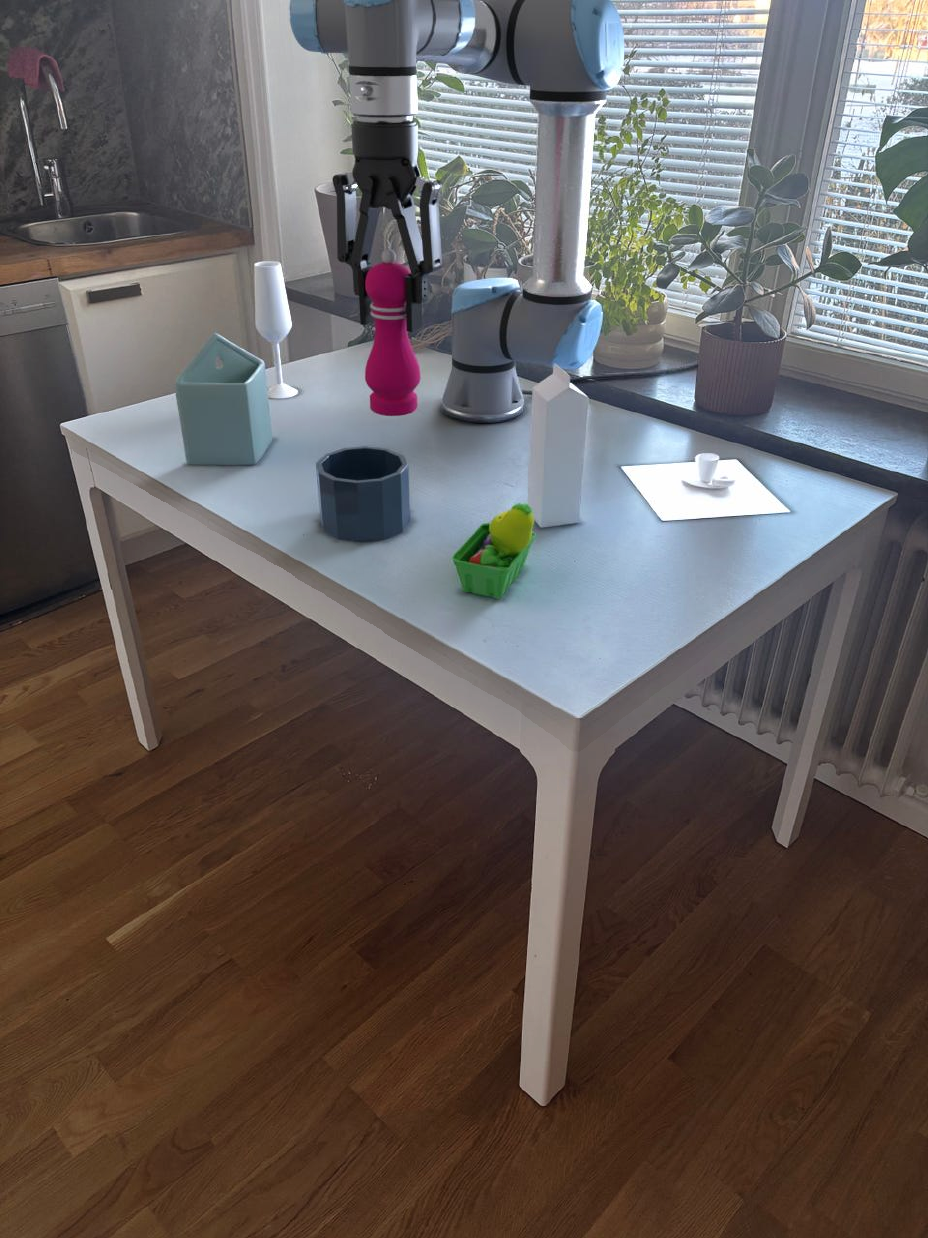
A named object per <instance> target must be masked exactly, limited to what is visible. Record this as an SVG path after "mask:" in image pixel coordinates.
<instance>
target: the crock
mask: <svg viewBox="0 0 928 1238" xmlns="http://www.w3.org/2000/svg"><path fill="white" fill-rule="evenodd" d="M409 471H410V470H409V462H408V460H407V459H406V457H405V455H404V454H402V453H399V452H397V451H396V450H393V449H391V448H387V447H378V446H369V445H365V446H364V445H363V446H351V447H343V448H339V449H336V450H334V451H331V452H328V453H325V454H323V455H322V456H321V458H319V459H318V460H317V461H316V462H315V473H316V483H317V484H316V485H317V497H318V509H319V520H320V524H321V527H322V531H323V532H324V533H326V534H327V535H329V536H332V537H333V538H335V539H337V540H341V541H350V542H355V543H367V542H374V541H383V540H387V539H390V538H392V537H394V536H397V535H399V534H401V533H403V532H404V531H405V529H406V528H407V527H408V525H409V524H410V522H411V510H410V509H411V508H410V507H411V505H410V473H409Z"/></svg>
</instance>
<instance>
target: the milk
mask: <svg viewBox="0 0 928 1238" xmlns="http://www.w3.org/2000/svg"><path fill="white" fill-rule="evenodd" d="M570 377H571V375H570V374H568V373H567V372H566V371H565V369H562V368H560V367H559V366H558V365H556V364H554V365H553V368H552V373H551V374H550V375H549V376H547V377H546V378H544V379H543V380H541V381H540V382H539V383H537V384H536V385H534V386H533V387H532V390H531V391H532V395H531V411H530V412H531V415H530V434H529V435H530V438H529V456H528V457H529V458H528V477H527V501H526V504H527V505H528V506H529V507H530V508H531V509H532V514H533V517H534V522H535V523H536V524H537V525H538V526H539V527H540V528H549V527H556V526H565V525H572V524H578V523H580V514H581V513H580V511H581V500H582V488H583V477H584V476H583V475H584V474H583V473H584V463H585V462H584V461H585V451H586V438H587V437H586V436H587V424H588V414H589V413H588V412H589V401H590V400H589V399H590V398H589V396H587V395H586V394H585V393H584V392H583V391H582V390H580V389H579V388H578V387H577V386H576V385H575V384H573V382H570Z"/></svg>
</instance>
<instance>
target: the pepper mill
mask: <svg viewBox="0 0 928 1238" xmlns="http://www.w3.org/2000/svg"><path fill="white" fill-rule="evenodd" d="M396 259H397V253H396V252H395V250H393V249H392V248H386V249H384V250H383V251H382V253H381V260H382V262H379V263H376V264H374V265H373V266H371V267H372V268H371V269H370V270H369V272H368V274H367V276H366V281H365V287H366V291H367V294H368V296H369V297H370V298H371V299H372V300H373V303H371V305H370V307H371V316H373V317H374V320H375V321H374V339H373V345H372V347H371V350H370V352H369V356H368V358H367V361H366V364H365V369H364V380H365V383H366V385H367V387H368V388H369V389H370V390H371V391H372V392H371V393H370V394H369V409H370V410H371V411H372V412H373V413H374V414H375V415H376V414H377V415H380V416H386V417H402V416H406V415H410V414H412V413H414V412H415V411H416V410H417V409H418V394H417V393H416V392H415V389H416V388H417V387H418V386H419V384H420V382H421V367H420V365H419V360H418V358H417V356H416V355H415V351H414V349H413V346H412V345H411V342H410V338H409V334H408V333H409V332H408V331H407V326H406V288H405V277H406V276H409V275H408V274H410V273H411V271H410V268H409V267H407V266H406V265H404V264H402V263H400V262H396Z"/></svg>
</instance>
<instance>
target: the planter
mask: <svg viewBox="0 0 928 1238" xmlns="http://www.w3.org/2000/svg"><path fill="white" fill-rule="evenodd" d="M218 356H219V361H221V365H220V366H219V367H217V362H218ZM267 381H268V380H267V372H266V365H265V361H264V360H263V359H261V358H259V357H258V356H255V355H254V354H252V353H250V352H248V351H247V350H245V349H244V348H242V347H240V346H238V345H237V344H235V343H233V342H231V341H229V339H227V338H225V337H224V336H222V335H220V334H219V333H217V332H214V333H212V335H211V336H210V337H209V338H208V340H207V341H206V343H205V344H204V345H203V346H202V348H201V349H200V350H199V351H198V353H197V354H196V355H194V357H193V358H192V359H191V361H190V362H189V363H188V364H187V366H185V368H184V369H183V370H182V372H181V373H180V374H179V376H178V377H177V378H176V379H175V380H174V383H173V387H174V392H175V400H176V406H177V412H178V418H179V424H180V431H181V437H182V442H183V448H184V456H185V462H186V464H187V465H191V466H192V465H195V466H197V465H199V466H202V465H203V466H204V465H205V466H256V465H257V463H259V461H260V460H261V459H262V458H263V456H264V454H265V453H266V452H267V450H268V448H269V446H270V445H271V443H272V442H273V439H274V437H273V430H272V429H273V428H272V427H273V426H272V420H271V411H270V409H271V408H270V399H269V397H268V390H267V389H268V382H267Z"/></svg>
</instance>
